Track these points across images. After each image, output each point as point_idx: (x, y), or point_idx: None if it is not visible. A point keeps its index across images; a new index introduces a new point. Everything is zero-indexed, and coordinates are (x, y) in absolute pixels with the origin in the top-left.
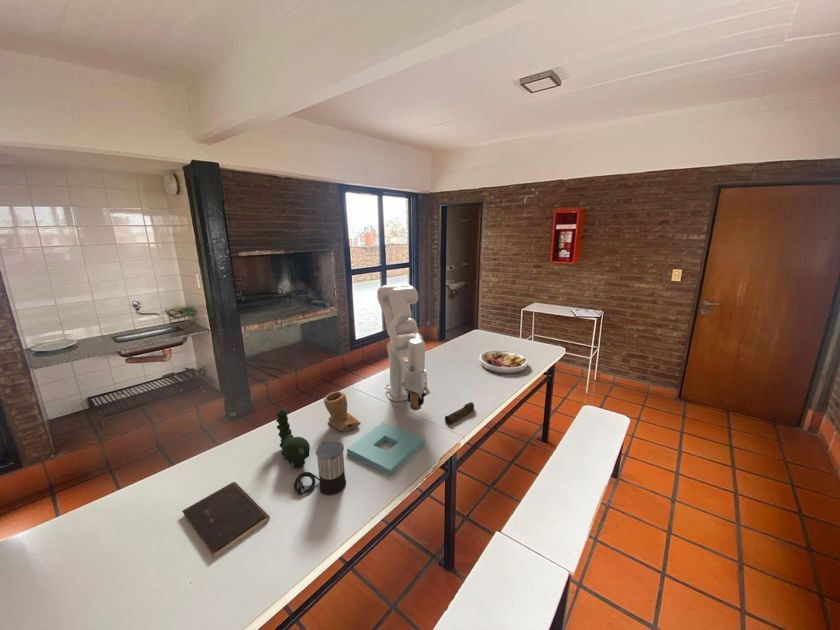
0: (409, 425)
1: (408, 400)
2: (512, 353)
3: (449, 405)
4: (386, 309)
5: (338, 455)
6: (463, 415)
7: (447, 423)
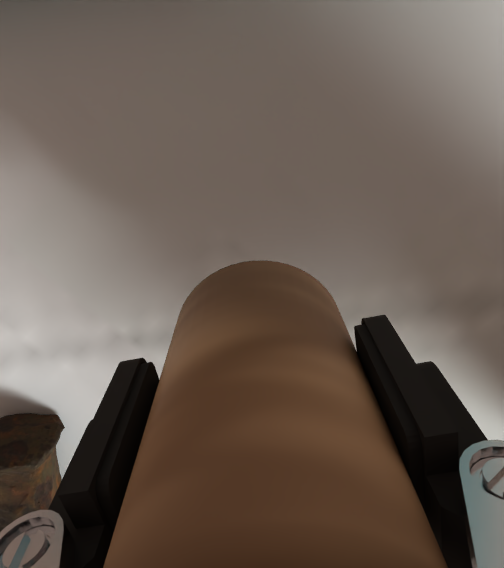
0: (243, 156)
1: (384, 331)
2: None
3: None
4: None
5: None
6: None
7: (32, 414)
